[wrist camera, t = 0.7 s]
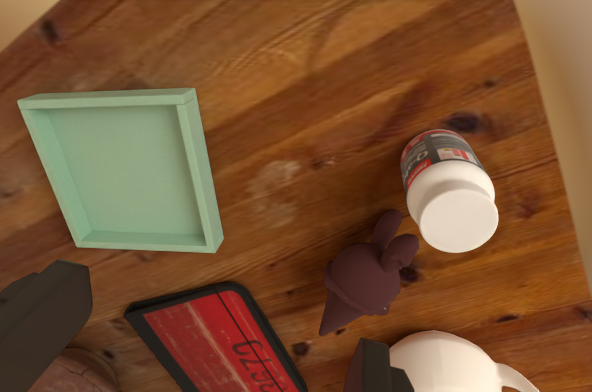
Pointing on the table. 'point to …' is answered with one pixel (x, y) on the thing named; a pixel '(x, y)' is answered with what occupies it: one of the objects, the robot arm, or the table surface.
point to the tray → (128, 167)
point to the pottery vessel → (77, 374)
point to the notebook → (215, 341)
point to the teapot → (452, 365)
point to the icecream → (367, 274)
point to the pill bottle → (448, 191)
